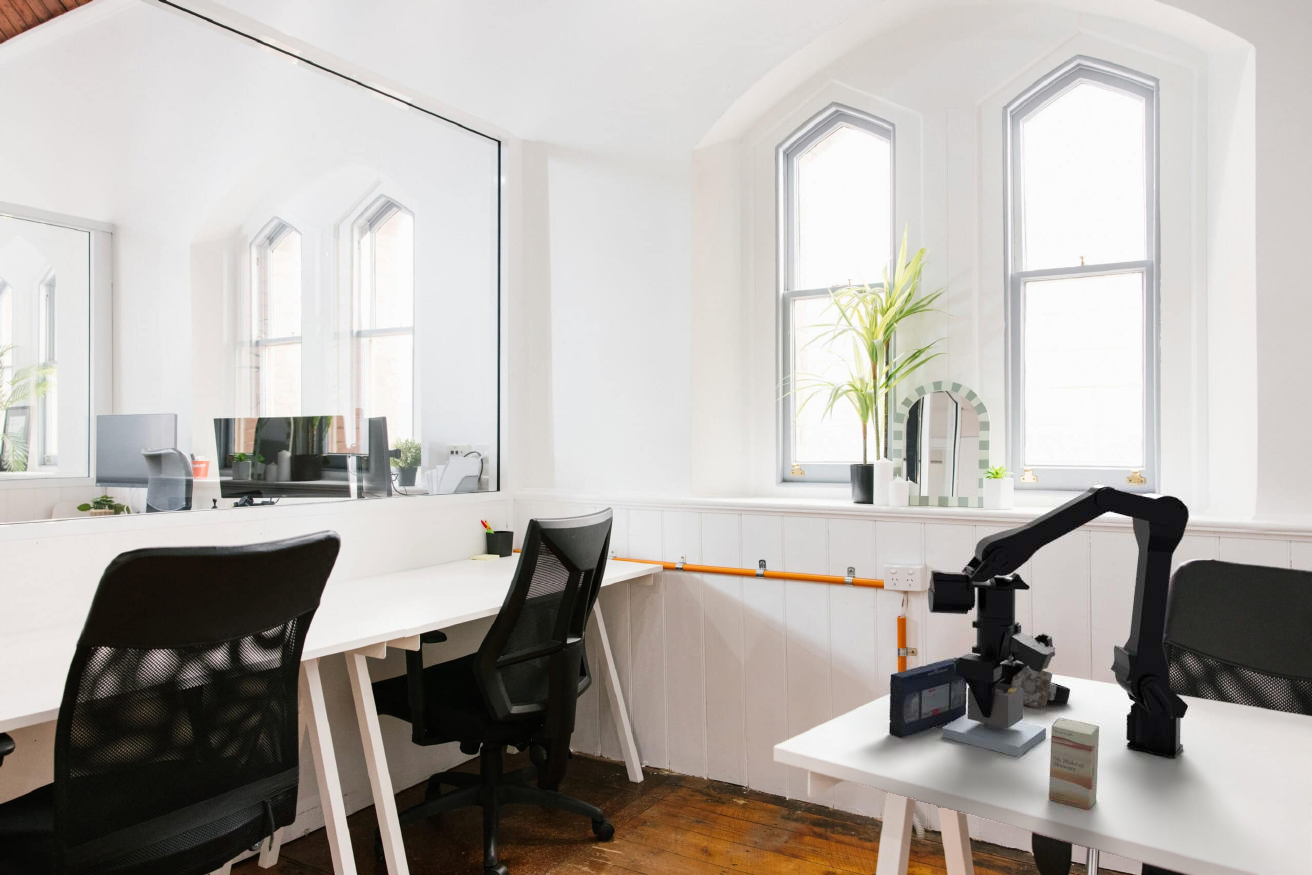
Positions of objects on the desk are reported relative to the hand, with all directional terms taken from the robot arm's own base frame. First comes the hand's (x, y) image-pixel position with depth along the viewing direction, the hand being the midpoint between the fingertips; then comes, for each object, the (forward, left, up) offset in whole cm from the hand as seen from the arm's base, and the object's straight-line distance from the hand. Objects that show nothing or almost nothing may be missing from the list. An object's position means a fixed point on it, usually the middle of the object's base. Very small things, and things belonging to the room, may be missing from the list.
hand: (994, 712), depth 135 cm
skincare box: (-17, +17, -4) cm, 24 cm away
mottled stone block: (+2, -25, -4) cm, 25 cm away
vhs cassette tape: (+10, +2, -4) cm, 11 cm away
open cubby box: (0, 0, -1) cm, 1 cm away
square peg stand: (0, 0, -4) cm, 4 cm away
